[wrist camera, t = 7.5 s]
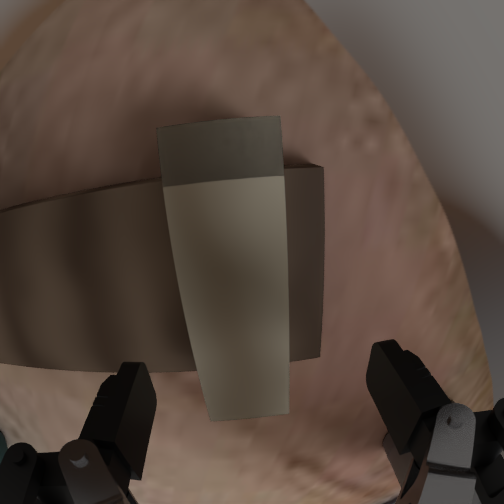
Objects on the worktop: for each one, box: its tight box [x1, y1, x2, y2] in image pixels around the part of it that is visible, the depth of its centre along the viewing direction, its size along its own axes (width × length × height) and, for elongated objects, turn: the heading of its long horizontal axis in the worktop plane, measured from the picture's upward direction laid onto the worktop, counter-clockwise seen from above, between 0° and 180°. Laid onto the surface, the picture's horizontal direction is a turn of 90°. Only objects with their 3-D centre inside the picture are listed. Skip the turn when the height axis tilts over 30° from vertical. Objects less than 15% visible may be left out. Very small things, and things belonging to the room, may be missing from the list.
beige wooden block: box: [156, 116, 289, 421], centre depth 15 cm, size 4×14×6 cm, turn 4°
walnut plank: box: [0, 164, 325, 373], centre depth 17 cm, size 26×12×2 cm, turn 94°
